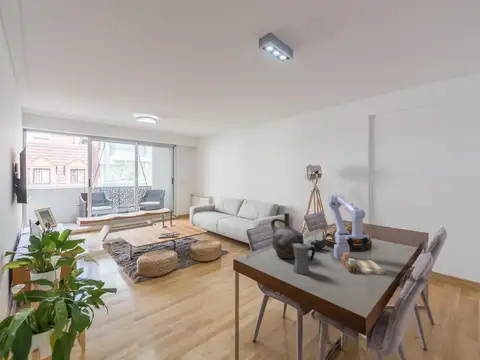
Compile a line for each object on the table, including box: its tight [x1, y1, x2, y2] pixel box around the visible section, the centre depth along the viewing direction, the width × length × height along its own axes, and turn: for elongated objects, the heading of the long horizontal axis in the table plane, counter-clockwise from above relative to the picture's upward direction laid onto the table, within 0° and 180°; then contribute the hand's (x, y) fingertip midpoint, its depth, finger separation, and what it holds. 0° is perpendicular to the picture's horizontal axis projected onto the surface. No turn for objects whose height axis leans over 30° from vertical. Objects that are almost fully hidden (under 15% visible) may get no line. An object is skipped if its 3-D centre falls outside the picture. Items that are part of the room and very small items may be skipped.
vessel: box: [270, 212, 305, 259], centre depth 159 cm, size 24×22×30 cm
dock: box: [354, 258, 387, 275], centre depth 139 cm, size 10×18×2 cm, turn 173°
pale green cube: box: [349, 257, 357, 266], centre depth 134 cm, size 3×3×3 cm
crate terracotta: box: [343, 252, 351, 259], centre depth 144 cm, size 3×3×3 cm
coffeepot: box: [291, 240, 316, 275], centre depth 133 cm, size 15×9×18 cm, turn 43°
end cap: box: [310, 239, 326, 252], centre depth 171 cm, size 10×7×7 cm
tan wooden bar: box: [340, 256, 359, 274], centre depth 139 cm, size 16×5×4 cm, turn 173°
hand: (357, 250), depth 141 cm, fingers open, 7 cm apart
